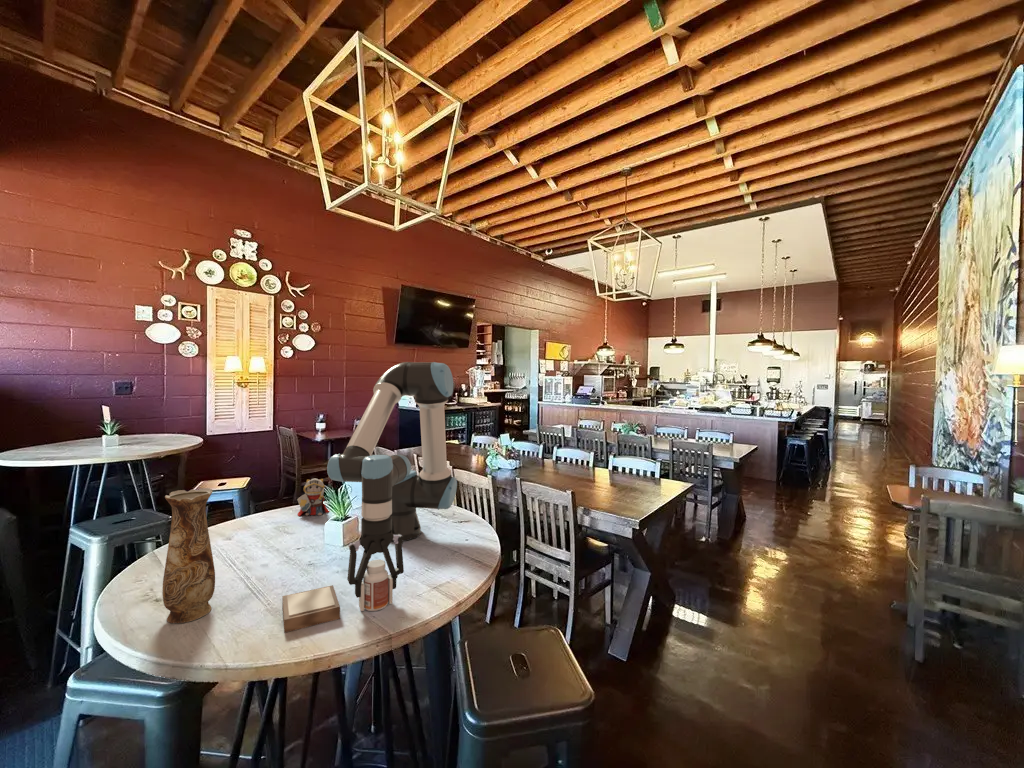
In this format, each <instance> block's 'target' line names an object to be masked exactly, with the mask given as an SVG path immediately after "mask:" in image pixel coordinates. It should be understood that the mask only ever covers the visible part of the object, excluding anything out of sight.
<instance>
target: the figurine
mask: <svg viewBox="0 0 1024 768" xmlns="http://www.w3.org/2000/svg"><path fill="white" fill-rule="evenodd" d="M324 487H325V488H326V485H325V484H324V479H323V478H320V479H318V478H311V479H306V482H305V485H304V486H303V492H304V494H302V495H301V496H300V497H298V498H297V502H298V505H299V507H300V510H299V511H298V513H297V516H298V517H301V516H302V515H303V514H304V515H305V516H309V515H310V516H316V515H317V516H322V515H323V514H324V512H325V514H327V513H330V510H329V509H328V508H327V507H326V504H325V505H324V504H323V501H324V500H325V496H324V493H325V491H324ZM328 510H329V511H328ZM323 511H324V512H323Z"/></svg>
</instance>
